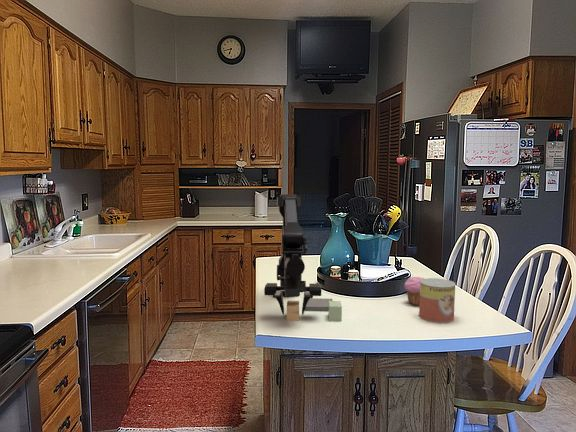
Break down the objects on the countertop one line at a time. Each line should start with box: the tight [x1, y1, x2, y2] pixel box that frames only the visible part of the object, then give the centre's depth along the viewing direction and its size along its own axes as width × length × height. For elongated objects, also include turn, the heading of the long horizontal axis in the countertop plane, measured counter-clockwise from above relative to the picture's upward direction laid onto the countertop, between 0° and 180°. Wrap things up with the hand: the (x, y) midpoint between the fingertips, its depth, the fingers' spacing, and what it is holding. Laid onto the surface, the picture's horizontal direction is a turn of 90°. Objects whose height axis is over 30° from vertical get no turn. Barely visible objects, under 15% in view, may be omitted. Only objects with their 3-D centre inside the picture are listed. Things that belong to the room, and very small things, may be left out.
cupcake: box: [404, 276, 426, 306], centre depth 170 cm, size 9×9×10 cm
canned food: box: [418, 277, 456, 324], centre depth 155 cm, size 11×11×12 cm
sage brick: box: [328, 300, 343, 322], centre depth 155 cm, size 6×4×5 cm, turn 178°
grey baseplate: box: [304, 297, 334, 312], centre depth 167 cm, size 10×10×2 cm
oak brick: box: [286, 300, 300, 322], centre depth 156 cm, size 6×4×5 cm, turn 178°
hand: (292, 314), depth 156 cm, fingers open, 6 cm apart
